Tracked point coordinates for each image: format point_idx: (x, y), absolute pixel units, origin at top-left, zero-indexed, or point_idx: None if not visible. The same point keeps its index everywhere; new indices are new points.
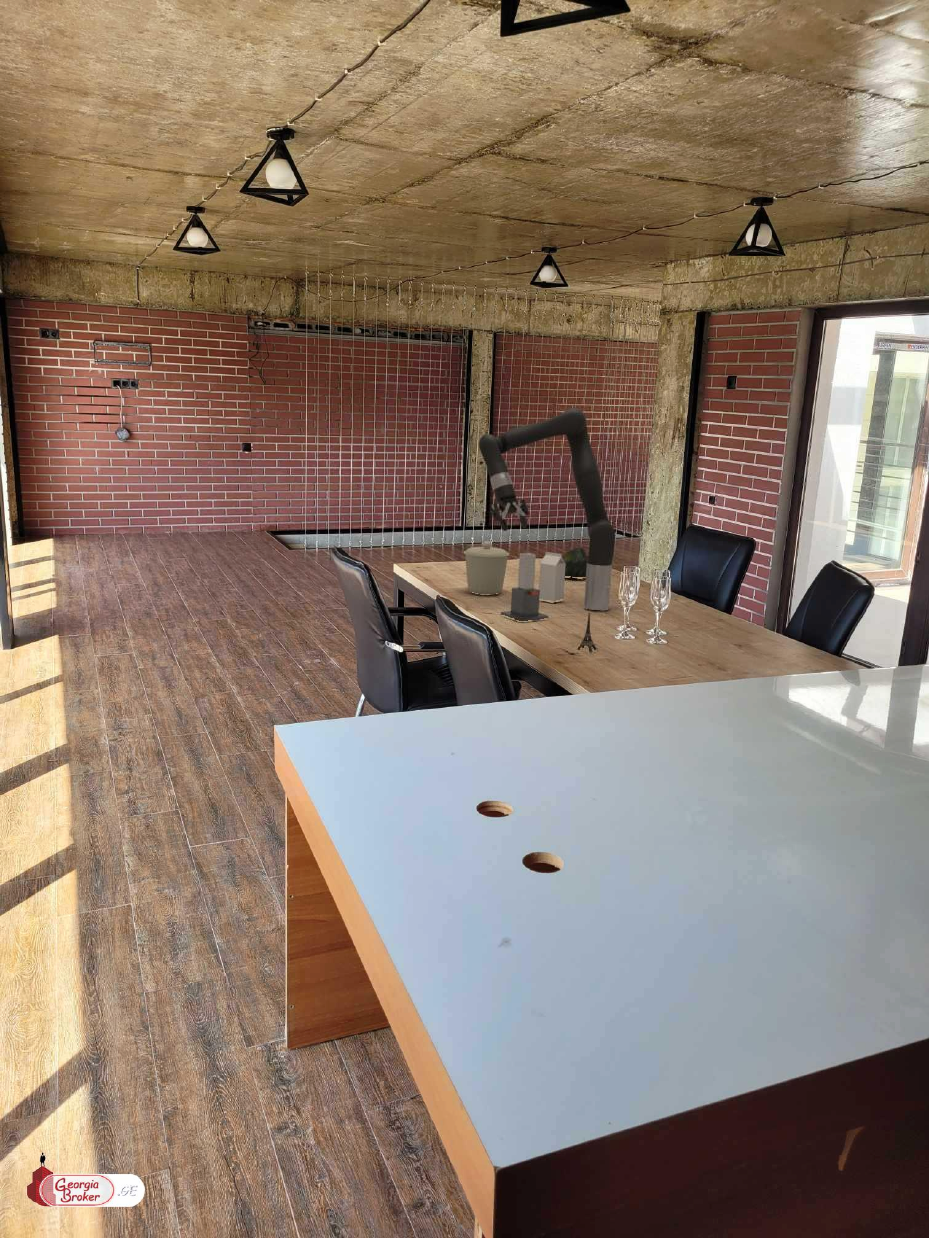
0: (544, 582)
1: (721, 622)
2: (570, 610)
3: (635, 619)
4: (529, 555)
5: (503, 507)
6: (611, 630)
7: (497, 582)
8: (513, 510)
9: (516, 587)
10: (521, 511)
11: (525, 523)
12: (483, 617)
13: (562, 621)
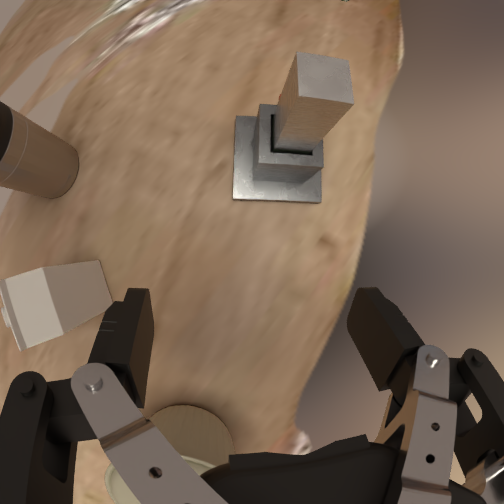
0: (85, 299)
1: (8, 39)
2: (111, 180)
3: (72, 69)
4: (331, 58)
5: (451, 483)
6: (185, 17)
7: (176, 415)
8: (275, 472)
9: (305, 165)
10: (113, 433)
11: (134, 304)
12: (361, 212)
13: (215, 95)
